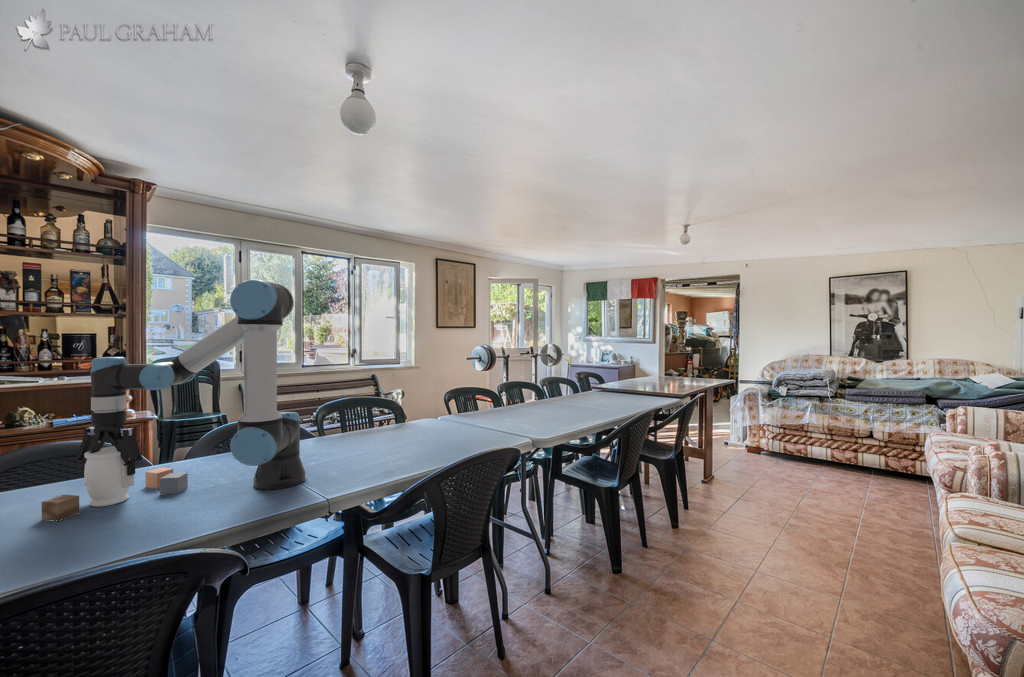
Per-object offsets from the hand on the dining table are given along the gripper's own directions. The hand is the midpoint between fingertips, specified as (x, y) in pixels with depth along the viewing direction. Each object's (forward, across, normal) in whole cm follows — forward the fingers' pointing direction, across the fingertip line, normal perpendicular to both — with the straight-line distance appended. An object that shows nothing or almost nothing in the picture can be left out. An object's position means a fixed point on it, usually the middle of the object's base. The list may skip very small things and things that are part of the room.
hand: (109, 485), depth 128 cm
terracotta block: (+5, -2, -14) cm, 15 cm away
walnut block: (+5, +2, +11) cm, 12 cm away
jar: (+5, 0, 0) cm, 5 cm away
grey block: (+5, -11, -10) cm, 16 cm away
